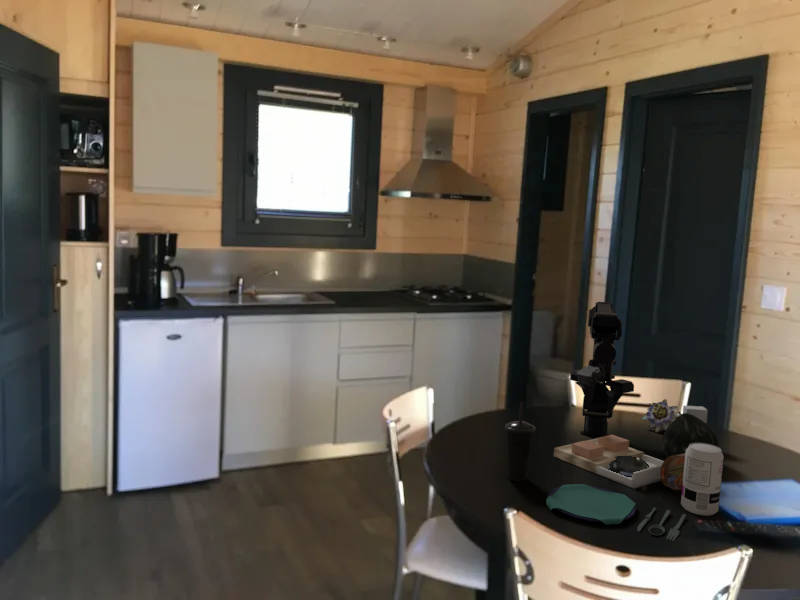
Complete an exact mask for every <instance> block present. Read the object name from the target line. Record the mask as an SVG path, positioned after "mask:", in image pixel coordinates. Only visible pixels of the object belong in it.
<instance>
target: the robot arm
mask: <svg viewBox="0 0 800 600" xmlns="http://www.w3.org/2000/svg"><path fill="white" fill-rule="evenodd" d="M622 324H623V322H622V320H621V318H619V316H618V314H617V311H615V309H614V308H613V303H612V302H610V301H596V302H595V305H594V306H593V307H592V308H591V309H589V310H588V318H587V327H588V328H589V335H590V338H591V339H592V341H593V347H592V348H593V350H592V359H591V358H590V359H589V361H588V365H587V366H585V367H582V368H581V369H573V370H572V371H571V372H570V377H569V380H570V381H573V382H575V385H578V386H579V387H580V389H581V390H582V393H583V399H582V408H581V409H582V413H581V415H582V417H584V420H583V421H584V422H583V430H581V431H580V434H581V433H582V435H584V434H585V436H587V435H588V436H587V437H591V438H592V439H596V438H599V437H604V436H608V435H610V433H608V425H609V423H608V419H609V420H610V419H612V418H613V413H614V409H615V407H616V405H617V404H618V402H619V401H620V399H621V397H622V396H623V395H624V394H627V393H633V392H634V391H635V384H634V383H633V381H632V380H628V379H627V380H626V379H624V378H622V379H620V378H619V379H616V375H615V374H613V371H614V369H613V366H615V365H616V364H617V360H615V359H616V357H617V351H616V346H615V341H620V338H622V336H623V335H622V334H623V331H622V330H623V325H622ZM608 387H609V388H608Z"/></svg>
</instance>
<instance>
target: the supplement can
mask: <svg viewBox="0 0 800 600" xmlns="http://www.w3.org/2000/svg"><path fill="white" fill-rule="evenodd" d="M724 458H725V457H724V454H723V451H722V449H721V448H720V447H717V446H714V445H710V444H705V443H691V444H689V447H688V448H687V449H686V453H685V464H684V474H683V485H682V489H681V496H680V497H681V499H680V505H681V506H682V508H683V509H684V511H685V510H686V511H687V512H689V513H692V514H694V515H697V516H698V515H699V516H713V515H714V516H715V514H716V513H718V512H719V508H720V500H721V499H720V496H721V487H722V477H723V469H724V468H723V467H724Z"/></svg>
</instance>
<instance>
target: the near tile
mask: <svg viewBox="0 0 800 600" xmlns="http://www.w3.org/2000/svg"><path fill="white" fill-rule="evenodd" d="M571 444H572V453H574V454H577V455H580V456H582V457H585V458H588V459H590V458H594V457H598V456H602V455H603V451H604V446H601V445H598V444H595V443H593V442H590V441H587V440H582V441H577V442H574V443H571Z"/></svg>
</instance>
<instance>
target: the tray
mask: <svg viewBox="0 0 800 600" xmlns="http://www.w3.org/2000/svg"><path fill="white" fill-rule="evenodd" d="M642 460H643V461H645V462H646V463H647V464H648V465H649V468H647V469H643V470H640V471H636V472H633V475H632V477H626V476H624V475H621V474H619V473H616V472H613V471H611V470H608V469H606V468H603V467H601V466H597V467H596V473H595V474H596V475H598V476H601V477H604V478H606V479H609V480H611V481H614V482H616V483H619V484H622V485H624V486H626V487H628V488H632V489H633V490H634V489H638V488H640V487H641V488H642V487H644V486H647V485H651V484H655V483H658V482H662V481H661V475H660V473H661V466H662V464H663V462H664V461H665V460H661V459H658V458H656V457H653V456H650V455H647V454H645V453H644V454H642Z"/></svg>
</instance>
